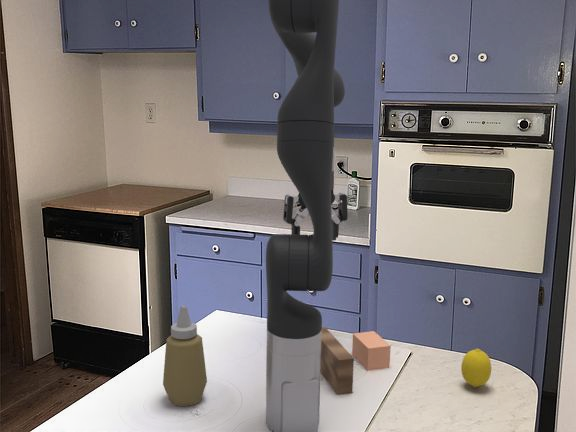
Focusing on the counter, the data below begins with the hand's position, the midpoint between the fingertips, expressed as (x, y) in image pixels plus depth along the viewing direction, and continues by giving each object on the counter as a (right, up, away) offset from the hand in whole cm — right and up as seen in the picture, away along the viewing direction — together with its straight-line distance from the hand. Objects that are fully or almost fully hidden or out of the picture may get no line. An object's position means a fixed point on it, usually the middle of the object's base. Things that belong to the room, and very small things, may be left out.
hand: (315, 240), depth 135 cm
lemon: (+30, -28, -16) cm, 45 cm away
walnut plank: (+3, -27, -12) cm, 29 cm away
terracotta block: (+12, -26, -5) cm, 29 cm away
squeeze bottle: (-25, -29, -23) cm, 44 cm away
